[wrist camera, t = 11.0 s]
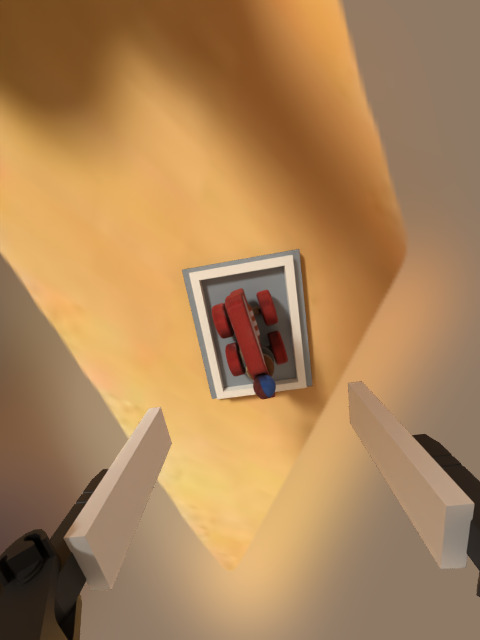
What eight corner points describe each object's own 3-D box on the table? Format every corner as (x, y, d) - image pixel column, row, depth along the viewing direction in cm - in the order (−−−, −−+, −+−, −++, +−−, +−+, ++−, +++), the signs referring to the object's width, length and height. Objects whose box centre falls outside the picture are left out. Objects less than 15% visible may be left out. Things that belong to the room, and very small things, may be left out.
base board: (184, 269, 28) (179, 270, 26) (296, 249, 27) (301, 248, 25) (213, 393, 33) (210, 403, 31) (310, 381, 32) (314, 390, 29)
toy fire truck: (239, 378, 30) (234, 437, 20) (209, 291, 27) (188, 310, 17) (289, 366, 30) (310, 420, 20) (264, 275, 27) (274, 285, 17)
